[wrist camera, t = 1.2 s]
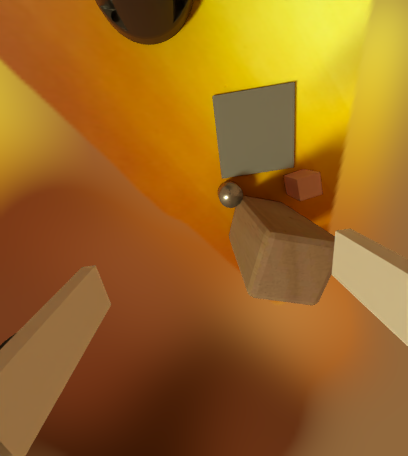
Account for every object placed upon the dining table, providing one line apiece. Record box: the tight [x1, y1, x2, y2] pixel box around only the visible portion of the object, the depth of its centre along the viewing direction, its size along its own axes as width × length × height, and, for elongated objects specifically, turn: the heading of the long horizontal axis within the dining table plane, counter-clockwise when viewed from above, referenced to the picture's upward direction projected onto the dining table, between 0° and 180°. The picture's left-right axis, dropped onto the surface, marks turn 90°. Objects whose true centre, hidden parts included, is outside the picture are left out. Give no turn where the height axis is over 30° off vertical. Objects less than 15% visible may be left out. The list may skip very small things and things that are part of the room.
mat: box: [213, 82, 295, 178], centre depth 37 cm, size 14×14×1 cm
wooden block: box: [229, 196, 335, 305], centre depth 35 cm, size 10×10×20 cm
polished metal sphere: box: [218, 181, 243, 208], centre depth 40 cm, size 4×4×4 cm
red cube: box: [283, 169, 323, 201], centre depth 38 cm, size 4×4×6 cm
